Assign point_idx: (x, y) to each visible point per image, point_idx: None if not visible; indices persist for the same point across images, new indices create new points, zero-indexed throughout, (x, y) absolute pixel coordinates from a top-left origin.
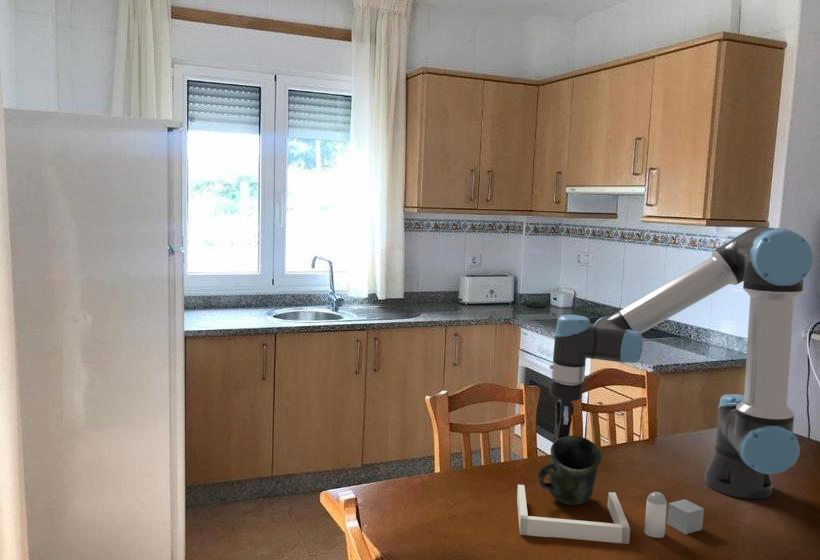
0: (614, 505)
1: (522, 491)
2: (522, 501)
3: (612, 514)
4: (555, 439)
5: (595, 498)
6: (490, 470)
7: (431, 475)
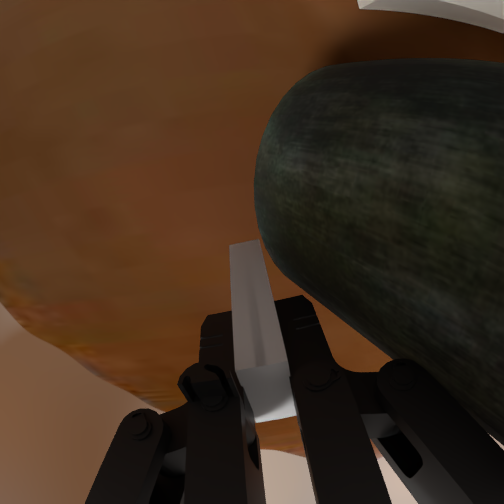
0: (498, 15)
1: None
2: None
3: (462, 18)
4: (262, 479)
5: (291, 51)
6: None
7: (290, 450)
